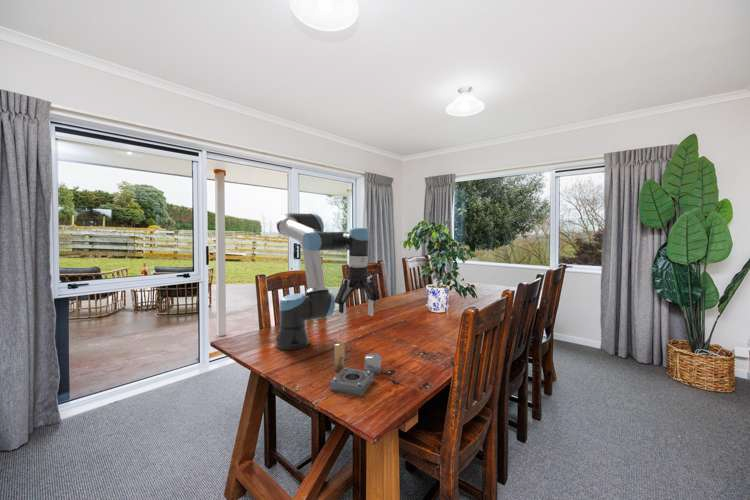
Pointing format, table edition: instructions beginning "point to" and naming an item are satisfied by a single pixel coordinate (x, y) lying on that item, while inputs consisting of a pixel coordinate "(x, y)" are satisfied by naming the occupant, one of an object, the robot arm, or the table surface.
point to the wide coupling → (373, 363)
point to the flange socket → (352, 381)
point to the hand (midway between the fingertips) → (357, 317)
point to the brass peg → (339, 356)
